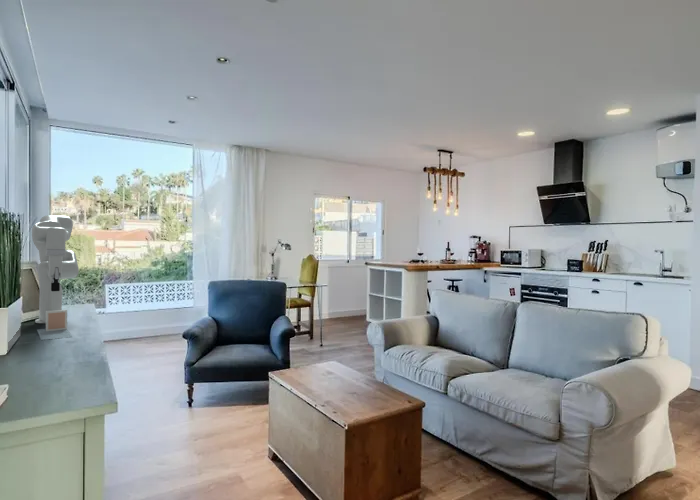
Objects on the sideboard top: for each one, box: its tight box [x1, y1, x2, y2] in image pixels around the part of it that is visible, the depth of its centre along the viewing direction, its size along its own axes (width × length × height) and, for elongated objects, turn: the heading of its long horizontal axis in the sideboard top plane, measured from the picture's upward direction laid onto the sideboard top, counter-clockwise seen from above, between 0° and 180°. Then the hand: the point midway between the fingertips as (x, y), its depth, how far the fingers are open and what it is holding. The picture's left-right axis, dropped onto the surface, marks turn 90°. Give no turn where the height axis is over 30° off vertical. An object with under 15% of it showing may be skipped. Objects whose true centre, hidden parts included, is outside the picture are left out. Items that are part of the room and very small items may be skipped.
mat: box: [36, 328, 73, 341], centre depth 187 cm, size 24×11×1 cm, turn 41°
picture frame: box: [45, 309, 68, 331], centre depth 193 cm, size 2×8×9 cm, turn 131°
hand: (55, 291), depth 198 cm, fingers closed
